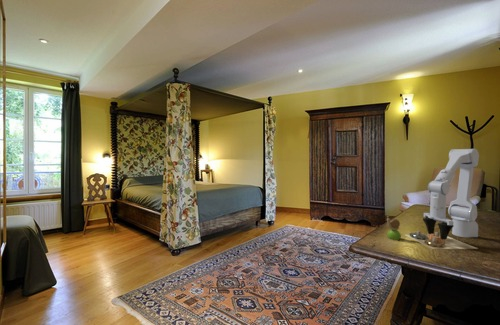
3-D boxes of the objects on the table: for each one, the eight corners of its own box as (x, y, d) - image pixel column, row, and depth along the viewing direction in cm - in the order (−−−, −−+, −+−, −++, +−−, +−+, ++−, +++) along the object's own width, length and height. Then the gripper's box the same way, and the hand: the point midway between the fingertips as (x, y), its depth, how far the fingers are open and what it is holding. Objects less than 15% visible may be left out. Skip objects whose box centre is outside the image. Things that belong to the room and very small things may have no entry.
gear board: (443, 236, 119) (443, 226, 119) (478, 251, 101) (478, 239, 101) (403, 236, 118) (404, 226, 118) (432, 251, 100) (432, 239, 100)
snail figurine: (382, 239, 115) (383, 214, 115) (395, 238, 116) (395, 214, 115) (390, 243, 110) (390, 217, 109) (403, 242, 110) (404, 217, 110)
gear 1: (420, 234, 118) (420, 232, 118) (431, 239, 111) (431, 237, 111) (406, 234, 118) (406, 232, 118) (416, 239, 111) (416, 237, 111)
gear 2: (435, 241, 109) (435, 238, 109) (448, 247, 102) (449, 244, 102) (420, 241, 108) (420, 238, 108) (432, 247, 101) (432, 244, 101)
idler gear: (437, 238, 113) (438, 233, 113) (448, 243, 107) (448, 237, 107) (425, 238, 113) (425, 233, 113) (435, 243, 107) (435, 237, 107)
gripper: (417, 203, 117) (417, 231, 117) (442, 210, 102) (441, 242, 102) (431, 203, 117) (431, 231, 117) (458, 210, 102) (457, 241, 103)
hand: (437, 236), depth 110 cm, fingers open, 7 cm apart
